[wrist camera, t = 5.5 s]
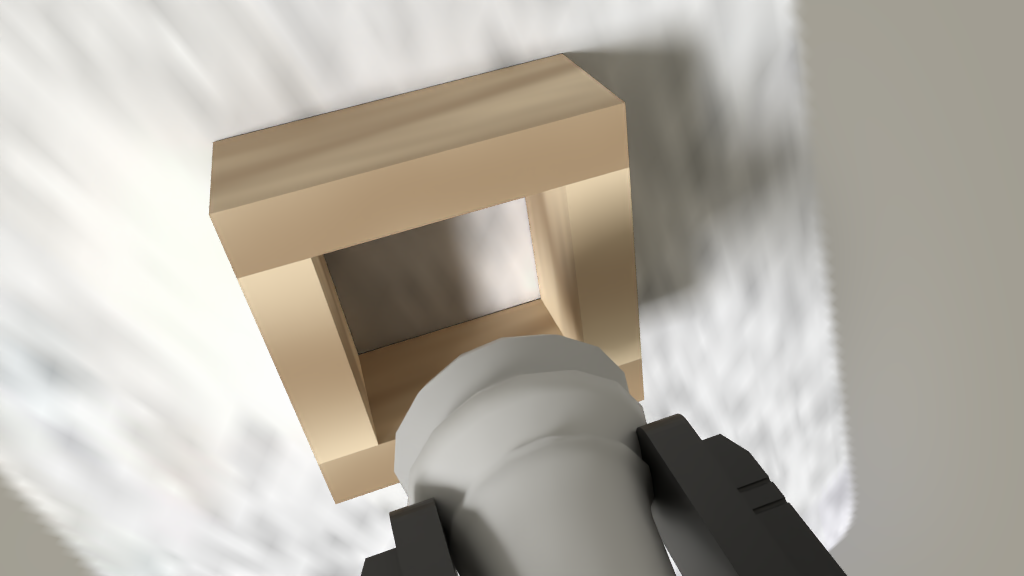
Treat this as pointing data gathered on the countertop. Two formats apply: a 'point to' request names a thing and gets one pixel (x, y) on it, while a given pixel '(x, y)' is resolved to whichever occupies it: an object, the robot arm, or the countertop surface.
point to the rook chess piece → (534, 462)
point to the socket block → (418, 202)
